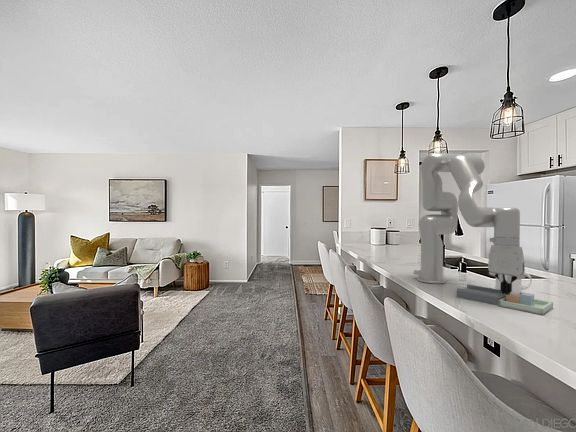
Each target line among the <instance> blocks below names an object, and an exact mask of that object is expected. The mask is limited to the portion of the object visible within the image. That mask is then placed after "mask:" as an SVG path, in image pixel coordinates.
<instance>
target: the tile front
mask: <svg viewBox="0 0 576 432" xmlns="http://www.w3.org/2000/svg"><path fill="white" fill-rule="evenodd" d="M519 295H520V304H522V305H528V306H534V299H535V294H534V293H527V292H522V293H520V294H519Z"/></svg>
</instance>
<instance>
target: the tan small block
mask: <svg viewBox="0 0 576 432" xmlns="http://www.w3.org/2000/svg"><path fill="white" fill-rule="evenodd" d="M506 301H507V302H512V303H517V304H520V294H512V293H510V294H507V295H506Z"/></svg>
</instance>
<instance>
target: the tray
mask: <svg viewBox="0 0 576 432" xmlns="http://www.w3.org/2000/svg"><path fill="white" fill-rule="evenodd" d="M497 307H500V308H506V309H509V310H516V311H520V312H525V313H528V314H529V313H530V314H534V315H540V316H544V315H546V314H547V313H548V312H549V311H551V310H553V309H554V302H553V301H549V300H548V301H547V300H541V299H536V298H534V306H528V305H522V304H517V303H512V302H507V301H506V297H504V298H502V299H500V300H498V305H497Z"/></svg>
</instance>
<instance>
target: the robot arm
mask: <svg viewBox="0 0 576 432" xmlns="http://www.w3.org/2000/svg"><path fill="white" fill-rule="evenodd" d="M485 168H486V166H485V162H484V160H483V158H482V157H480V156H477V155H469V154H467V155H466V154H459V153H446V152H445V153H444V152H433V153H429V154H427V155H426V156H425V157H423V160H422V162H421V166H420V174H421V179H422V207H423V209H424V210H425V211H427V212H437V213H439V212H440V213H439V214H437V213H434V214H433V213H431V214H425V215H423V216H421V217H420V219H419V221H418V229H419V234H420V235H419V236H420V270H417V269H414V270H413V275H415V276H416V275H418V276H417V277H416V279H417V281H418V282H421V283H427V284H435V285H436V284H437V285H439V284H440V285H441V284H442V285H443V284H445V283H447V279H446V278H444V277H443V274H444V272H443V271H444V269H443V268H444V244H443V243H444V242H443V240H442V237H440V235H452V234H454V233H455V231H457V228H458V218H459V217H458V216H459V215H458V213H460V215H461V216H462V218H463V219H464V221H465V222H466V224H467V225H468V226H470V227H473V228H493V237H490V238H489V242H490V243H493V244H491V245H490V249H489V256H488V264H487V269H488V271H489V272H488V274H489V275H490V276H491V277H494V278H495V279H496V278H497V279H498V280H499V281H500V282H501V291H502V294H510V292H512V282H514V281H515V280H517V279H521V280H524V279H526V275H524V271H526V270H525V269H526V268H525V265H526V264H525V257H524V250H523V247H522V246H520V241H521V240H520V238H521V235H520V233H521V212H520V209H519V208H517V207H488V206H487V207H486V206H484V207H483V206H481V207H479V206H478V205H477V203H476V201H475V199H474V196H473V194H475V193H477V192H478V191H480V190H481V188H483V185H484V182H483V179H482V178H481V176H480V175H481V174H482V173H484V170H485ZM439 173H450V174H451V176H452V177H453V179H454V181H455V183H456V184H457V185H456V186H457V187H458V189H459V190H460V193H459V195H458V198H457V196H456V195H455V194H454V193H452V192H450V191H443V179H442V178H441V176H440V174H439ZM505 275H508V278H507V281H506V279H505Z"/></svg>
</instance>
